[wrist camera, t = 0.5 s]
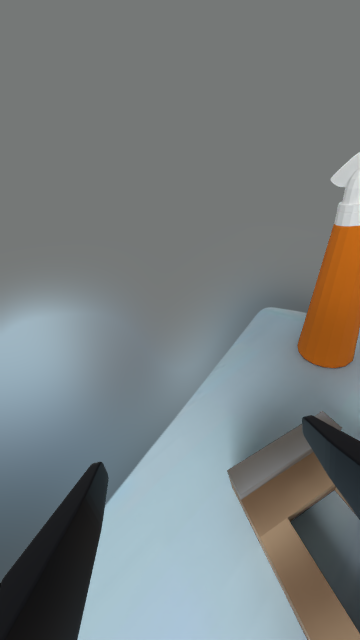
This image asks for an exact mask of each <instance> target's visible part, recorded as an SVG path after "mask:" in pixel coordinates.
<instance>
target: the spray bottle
mask: <svg viewBox="0 0 360 640" xmlns="http://www.w3.org/2000/svg"><path fill="white" fill-rule="evenodd" d="M331 181H332V183H334V184H335V185H337V186H339V187H346V188H345V192H344V198H343V201H342V202H340V203H339V204H338V209H337V213H336V219H335V224H334V226H333V229H332V232H331V236H330V239H329V242H328V246H327V249H326V252H325V256H324V259H323V262H322V266H321V269H320V272H319V275H318V279H317V282H316V286H315V289H314V292H313V296H312V299H311V302H310V305H309V309H308V312H307V315H306V319H305V322H304V325H303V329H302V332H301V335H300V339H299V342H298V351H299V353H300V354H301V355H302V356H303V358H305V359H306V360H308V361H309V362H311V363H312V364H316V365H319V366H322V367H328V368H338V367H343V366H346V365H347V364H349V363H350V362H352V361H353V357H354V353H355V348H356V343H357V338H358V333H359V328H360V152H359V153H358V154H356V155H355V156H354V157H352V158H351V159H350V160H349V161H348V162H347V163H346V164H345V165H344V166H343V167H341V168H340V169H339V170H338V171H337V172H336V173H335V174H334V176H333V177H332V178H331Z"/></svg>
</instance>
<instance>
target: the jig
mask: <svg viewBox="0 0 360 640" xmlns="http://www.w3.org/2000/svg"><path fill="white" fill-rule="evenodd" d="M315 417H317V418H318V419H320V420H322V421H324V422H326V423H327V424H329V425H331V426H333V427H335V428H337V429H338V430H340V431H341V429H342V428H341V427H340V426H339V425H338V424H337V423H336V422H335V421H333V420H332V419H331V418H330V417H329V416H328V415H327V414H325V413H324V412H323V411H322V412H320V413H319V414H317V415H315ZM227 472H228V475H229V478H230V481H231V484H232V488H233V490H234V492H235V494H236V496H237V498H238V500H239V502H240V504H241V506H242V508H243V510H244V512H245V514H246V516H247V518H248V520H249V522H250V524H251V526H252V528H253V530H254V532H255V534H256V536H257V538H258V540H259V542H260V544H261V546H262V548H263V551H264V553H265V555H266V557H267V559H268V561H269V563H270V565H271V567H272V569H273V571H274V573H275V575H276V577H277V579H278V581H279V583H280V585H281V587H282V589H283V591H284V593H285V595H286V597H287V599H288V601H289V603H290V605H291V607H292V609H293V611H294V614H295V616H296V618H297V620H298V622H299V624H300V626H301V628H302V630H303V632H304V634H305V636H306V638H307V640H360V634H359V632H358V630H357V629H356V627H355V625H354V624H353V622H352V621H351V619H350V617H349V616H348V614H347V613H346V611H345V609H344V608H343V606H342V605H341V603H340V601H339V600H338V598H337V597H336V595H335V593H334V592H333V590H332V589H331V587H330V585H329V584H328V582H327V581H326V579H325V577H324V576H323V574H322V573H321V571H320V569H319V568H318V566H317V565H316V563H315V561H314V560H313V558H312V557H311V555H310V553H309V552H308V550H307V549H306V547H305V545H304V544H303V542H302V541H301V539H300V537H299V536H298V534H297V533H296V531H295V529H294V528H293V526H292V525H291V523H290V522H291V521H292V520H294V519H295V518H296V517H298V516H299V515H301V514H302V513H303V512H305V511H306V510H307V509H309V508H310V507H312V506H313V505H314V504H316V503H317V502H318V501H320V500H321V499H323V498H324V497H325V496H327V495H328V494H329V493H331V492H332V491H334V490H335V491H336V492H337V493H338V494H339V496H340V497H341V498H342V499H343V500H344V501H345V503H346V504H347V505H348V506H349V504H348V503H347V501H346V500H345V499H344V497H343V496H342V495H341V493H340V492H339V490H338V489H337V488H336V486H335V485H334V483H333V482H332V481H331V479H330V478H329V476H328V475H327V473H326V471H325V470H324V468H323V467H322V465H321V463H320V462H319V460H318V458H317V457H316V455H315V453H314V452H313V450H312V448H311V447H310V445H309V444H308V442H307V440H306V439H305V437H304V435H303V432H302V424H301V425H299V426H298V427H296V428H295V429H293V430H291V431H290V432H288V433H287V434H285V435H283V436H282V437H280V438H278V439H277V440H275V441H274V442H272V443H270V444H269V445H267V446H266V447H264V448H262V449H261V450H259V451H258V452H256V453H254V454H253V455H251V456H250V457H248V458H246V459H245V460H243V461H242V462H240V463H238V464H237V465H235V466H234V467H232V468H230V469H229V470H227ZM349 507H350V506H349ZM350 508H351V507H350ZM351 510H352V508H351ZM352 511H353V510H352ZM353 512H354V511H353Z"/></svg>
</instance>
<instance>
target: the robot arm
mask: <svg viewBox="0 0 360 640" xmlns="http://www.w3.org/2000/svg"><path fill="white" fill-rule="evenodd" d="M302 432H303V435H304V437H305V439H306V440H307V442H308V444H309V445H310V447H311V448H312V450H313V452H314V453H315V455H316V457H317V458H318V460H319V462H320V463H321V465H322V467H323V468H324V470H325V471H326V473H327V475H328V476H329V478H330V479H331V481H332V482H333V483H334V485H335V486H336V488H337V489H338V490H339V492H340V493H341V495H342V496H343V497H344V499H345V500H346V501H347V503H348V504H349V506H350V507H351V508H352V510H353V511H354V513H355V514H356V515H357V517H358V518H359V519H360V441H358V440H357V439H355V438H353V437H351V436H349V435H347V434H346V433H344V432H342V431H340V430H338V429H337V428H335V427H333V426H331V425H329V424H327V423H326V422H324V421H322V420H320V419H318V418H317V417H315V416H312V415H310V416H305V417H303V418H302ZM107 486H108V473H107V471H106V469H105V467H104V465H103V463H102V462H97V463H93V464H92V465H91V466H90V467H89V468H88V469H87V471H86V472H85V473H84V475H83V476H82V477H81V478H80V480H79V481H78V482H77V484H76V485H75V486H74V488H73V489H72V490H71V491H70V493H69V494H68V495H67V497H66V498H65V499H64V501H63V502H62V503H61V504H60V506H59V507H58V508H57V510H56V511H55V512H54V513H53V515H52V516H51V517H50V518H49V520H48V521H47V522H46V524H45V525H44V526H43V528H42V529H41V530H40V531H39V533H38V534H37V535H36V537H35V538H34V539H33V540H32V542H31V543H30V545H29V546H28V547H27V548H26V549H25V551H24V552H23V553H22V555H21V556H20V557H19V559H18V560H17V561H16V562H15V564H14V565H13V566H12V568H11V569H10V570H9V572H8V573H7V574H6V575H5V577H4V578H3V580H2V582H1V583H0V640H77V638H78V634H79V629H80V625H81V620H82V616H83V611H84V606H85V602H86V597H87V593H88V588H89V584H90V579H91V574H92V570H93V565H94V561H95V556H96V552H97V547H98V543H99V538H100V533H101V528H102V522H103V515H104V508H105V501H106V494H107Z"/></svg>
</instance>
